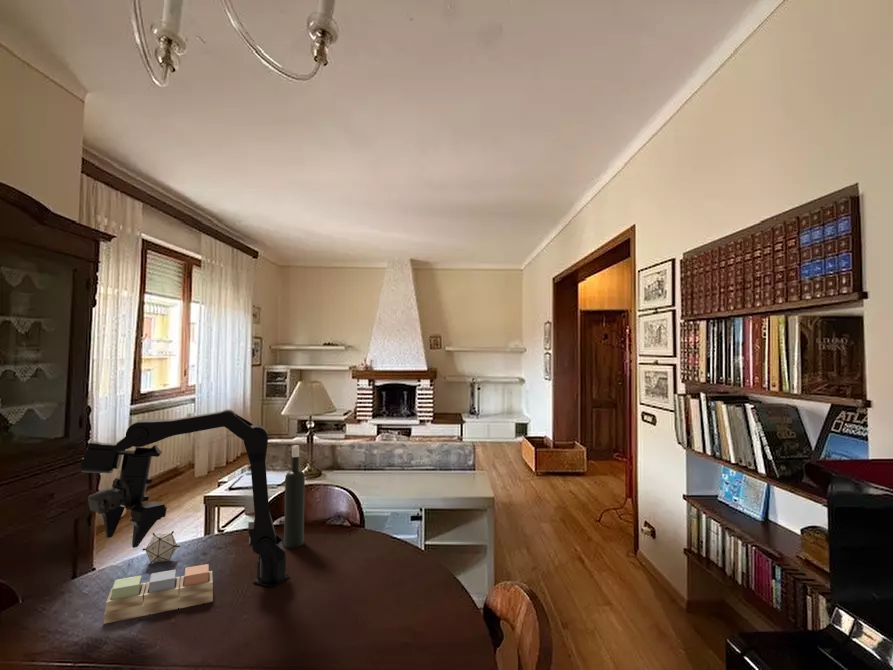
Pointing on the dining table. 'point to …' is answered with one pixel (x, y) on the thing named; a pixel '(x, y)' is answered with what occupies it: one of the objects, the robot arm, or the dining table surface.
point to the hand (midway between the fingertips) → (121, 542)
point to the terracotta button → (196, 575)
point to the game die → (161, 548)
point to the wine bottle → (294, 503)
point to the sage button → (126, 587)
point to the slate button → (162, 581)
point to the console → (158, 600)
